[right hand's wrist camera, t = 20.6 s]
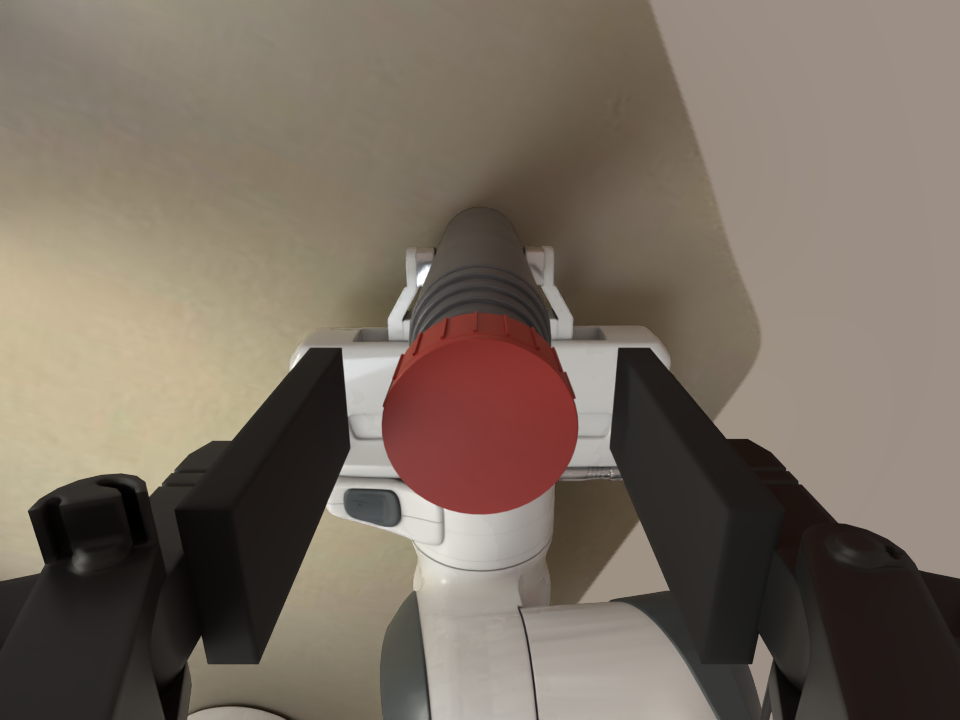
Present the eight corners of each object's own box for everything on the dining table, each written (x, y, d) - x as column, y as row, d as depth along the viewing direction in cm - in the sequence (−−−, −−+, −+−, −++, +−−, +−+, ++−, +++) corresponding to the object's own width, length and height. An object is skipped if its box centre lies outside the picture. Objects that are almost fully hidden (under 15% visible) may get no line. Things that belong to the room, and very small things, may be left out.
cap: (457, 273, 13) (453, 294, 11) (604, 375, 14) (623, 409, 12) (359, 413, 15) (341, 453, 13) (500, 498, 15) (503, 547, 14)
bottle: (428, 256, 36) (341, 444, 13) (468, 191, 35) (447, 278, 12) (490, 296, 37) (507, 535, 14) (532, 234, 35) (623, 389, 13)
